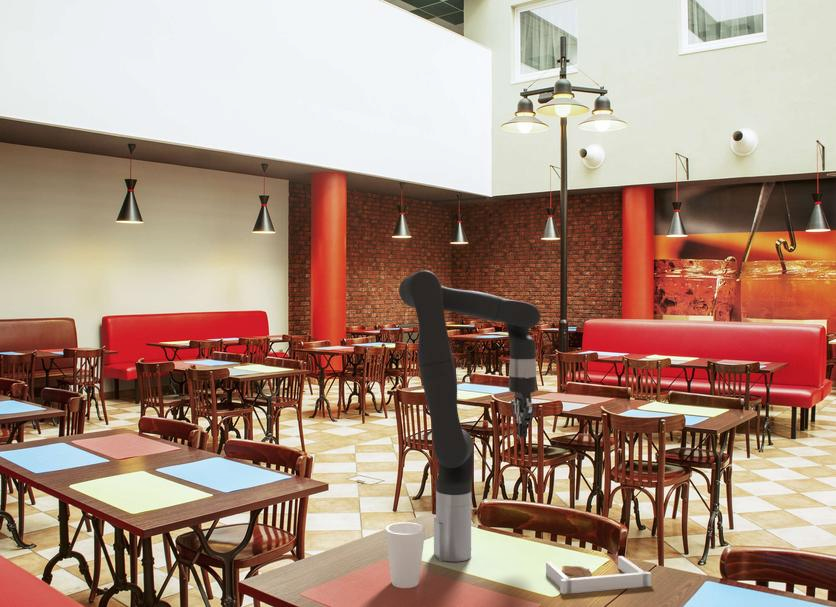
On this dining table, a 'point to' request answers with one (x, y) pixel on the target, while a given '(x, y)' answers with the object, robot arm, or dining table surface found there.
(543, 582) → the dining table surface
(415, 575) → the foam cup
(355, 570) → the dining table surface
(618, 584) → the box
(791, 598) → the dining table surface
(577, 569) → the sandwich
